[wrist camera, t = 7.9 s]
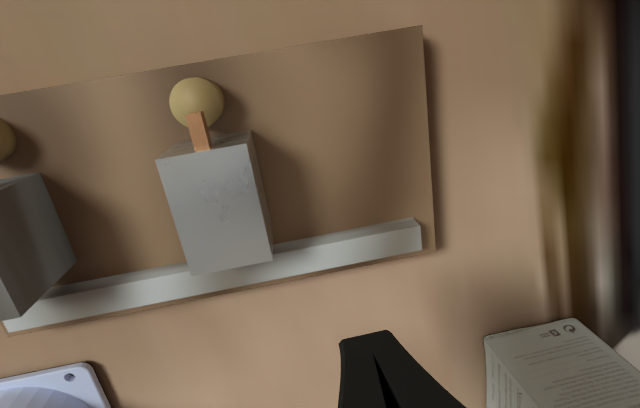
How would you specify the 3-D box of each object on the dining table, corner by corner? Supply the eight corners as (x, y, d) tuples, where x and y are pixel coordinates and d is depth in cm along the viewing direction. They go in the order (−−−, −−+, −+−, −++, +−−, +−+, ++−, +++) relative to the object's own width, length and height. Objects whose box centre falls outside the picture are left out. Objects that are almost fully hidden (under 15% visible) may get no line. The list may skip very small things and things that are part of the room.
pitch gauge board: (27, 317, 19) (-65, 411, 14) (-78, 110, 15) (-255, 130, 10) (424, 238, 20) (477, 298, 15) (409, 28, 16) (471, 10, 11)
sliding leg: (204, 241, 17) (191, 276, 14) (167, 112, 15) (143, 123, 12) (272, 228, 17) (272, 260, 14) (244, 99, 15) (237, 106, 12)
